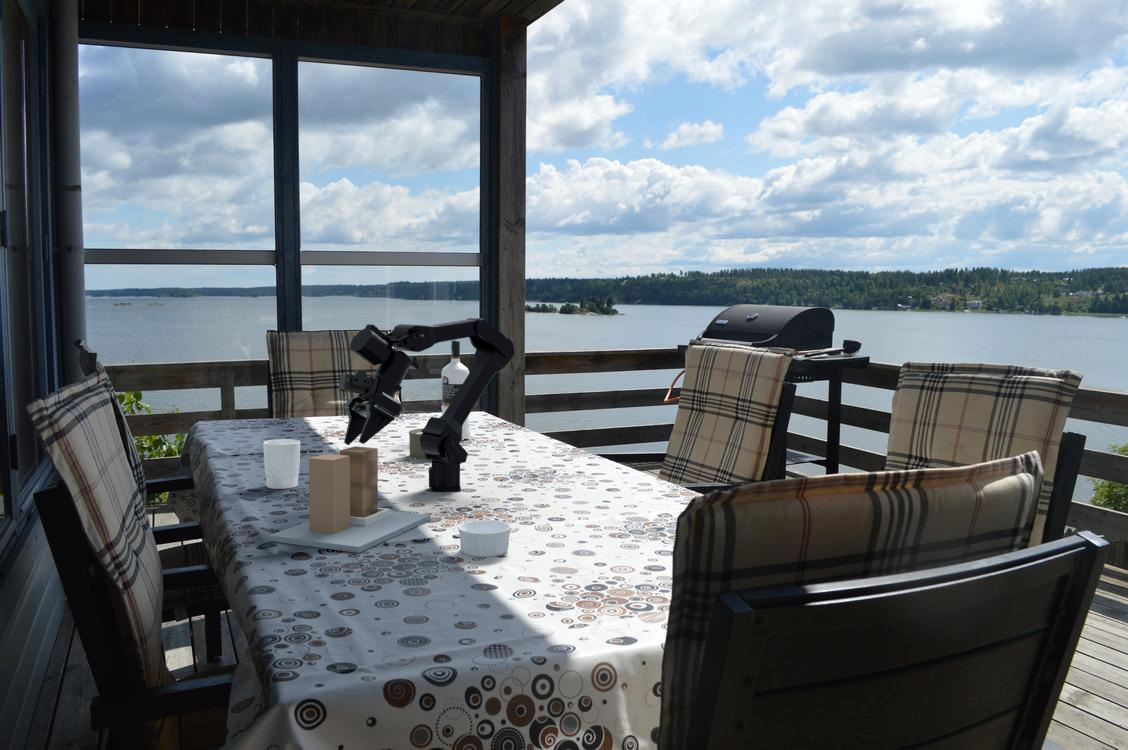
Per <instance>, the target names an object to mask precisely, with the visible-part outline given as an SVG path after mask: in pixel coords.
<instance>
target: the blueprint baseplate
mask: <svg viewBox="0 0 1128 750" xmlns="http://www.w3.org/2000/svg"><path fill="white" fill-rule="evenodd" d="M308 497H309V498H308V501H309V503H308V506H309V507H308V512H309V513H308V514H309V515H308V517H309V520H307V521H306V522H302V523H300V524H296V525H294V526H291V527H288V528H286V529H283V530H280V531H278V532H275V533H273V534H269V542H274V541H275V542H276V543H281V544H282V543H283V544H284V543H285V544H290V545H298V546H306V547H313V548H318V549H319V548H320V549H326V550H327V549H328V550H335V551H341V552H350V553H355V554H356V553H357V554H360V553H361V552H363V551H366V550H368V549H371V548H373V547H375V546H377V545H379V544H382V543H385V542H386V541H388V540H390V539H393V538H395V537H397V536H399V535H402V534H404V533H405V531H406V532H408V531H410V530H412V529H414V527H415V528H417V527H419V526H421V525H424V524H425V523H427V522H430V521H431V514H426V513H425V514H424V513H423V514H422V513H416V512H415V513H414V512H405V511H397V510H392V509H390V508H385V507H384V508H383V507H378V513H375V514H373V515H370V516H368V517H365V518H362V517H353V516H350V456H346V455H339V454H336V453H335V454H334V453H324V454H320V455H317V456H316V455H315V456H312V457H309V458H308ZM416 526H417V527H416ZM411 528H412V529H411ZM409 529H410V530H409ZM407 530H408V531H407ZM403 532H404V533H403Z"/></svg>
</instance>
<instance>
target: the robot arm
mask: <svg viewBox="0 0 1128 750" xmlns="http://www.w3.org/2000/svg"><path fill="white" fill-rule="evenodd" d="M466 338H468V339H469V341H470V344H471V346H472V347H474V349H475V352H474V364H473V367H472V368H471V369H470V370H469V375H468V376H467V378H466V379H465V381H464V383H463V384H462V386H461V387H460V389H459V391H458V392H457V394H456V395H455V397H454V399H453V400H452V402H451V403H450V405H449V406H448V408H447V410H446V411H445V413H444V414H443V415H442V414H441V416H440V417H435V416H430V418H429V419H428V421H427V422H426V424H425V426H424V428H421V429H422V430H421V432H423V433H422V435H421V437H420V445H421V448H422V450H423V451H424V455H425V458H426V460H425V461H431V466H429V467H428V487H429V488H430V491H431V492H448V491H449V492H453V491H455V492H456V491H457V492H459V491H461V490H462V488H461V465H462V464H464V463H466V462H467V459H468V455H469V453H468V451H467V450H466V449H465V447H463V446H462V444H461V441H462V440H461V439H462V426H463V424H464V422H465V420H466V419H467V417H468V418H469V415H470V414H471V412H472V411H473V410H474V407H475V406H476V404H477V402H478V401H479V399H480V397H481V396H482V394H483V393H484V391H485V389H486V387H487V386H488V385H489V383H490V381H491V380H492V378H493V377H494V375H496V374H498V373H499V372H500V371H502V370H504V368H505V367H507V365H508V364H509V363H510V362H511V361H512V360H513V358H514V356H515V353H516V350H515V345H514V342H513V341H512V340H511V339H510V338H508V337H506V335H504V333H502V332H500V331H499V330H498V329H495V327H493V326H491V325H490V324H489V323H488V321H486V320H485V319H483V318H481V317H479V318H477V317H475V318H474V317H468V318H467V319H463V320H456V321H451V322H444V323H437V324H432V325H431V324H430V325H423V324H405V323H402V324H401V323H400V324H397V325H395V326H394V328H393V330H392V331H390V332H387V333H386V334H385V333H383V331H381V330H380V328H378V327H377V326H376V325H375V324H372V323H371V324H366V326H365V328H363V329H361V330H360V331H358V332H357V333H356V335H355V336H354V335H353V337H352V338H351V341H350V344H349V348H350V351H352V352H353V353H354V354H355V355H357V356H358V357H359V358H361V359H362V360H363V361H364V362H367V363H368V364H369V365H371V366H373V367H375V366H377V365H378V367H377V369H376V371H375V372H374V374H372V375H369V376H368V375H367V374H368V373H367V371H366V370H362V369H361V370H360V369H358V370H355V372H354V373H353V374H352V373H345V374H342V375H340V380H339V387H338V391H339V392H343V393H344V392H349V393H353V394H358V395H357V396H355V397H352V398H349V399H348V398H347V400H346V403H345V405H344V406H343V408H344V411H345V413H346V414H347V416H348V421H347V422H348V423H347V427H346V433H345V437H344V440H343V443H344V444H346V445H347V446H349V445H351V444H352V443H353V442H354V441H355V440H356V439H357V438H358V437H359V436H360V437H359V440H358V443H360V444H362V445H364V444H366V443H367V442H368V441H369V440H371V439H372V438H373V437H375V436H376V435H377V434H378V433H379V432H381V430H383V429H384V428H385V427H386V426H388V425H389V424H390V423H392V422H394V421H395V420H396V418H400V415H401V414H402V412H403V408H404V407H403V405H402V402H400V401H399V400H397V399H396V398H395V396H396V393H399V392H401V391H402V388H403V387H402V386H401V385H402V382H403V381H404V378H405V377H406V375H407V373H408V371H409V370H419V369H420V365H419V362H418V359H417V356H413V355H412V356H411V355H409V354H408V353H405V352H410V353H420V352H424V351H425V350H426V351H427V350H428V349H430V348H432V347H433V346H435V345H436V344H439V343H443V342H449V341H450V342H451V341H454V340H459V339H466Z"/></svg>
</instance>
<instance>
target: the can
mask: <svg viewBox="0 0 1128 750" xmlns="http://www.w3.org/2000/svg"><path fill="white" fill-rule="evenodd" d="M422 429H423V428H416V429H411V430H409V431H408V434H409V458H410V457H412V458H411V459H413V458H416V459H415V460H419V459H425V460H424V461H427V460H426V458H425V455H424V451H423V450H422V448H421V445H420V437H421V435H422V433H423V432H421V430H422Z"/></svg>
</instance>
